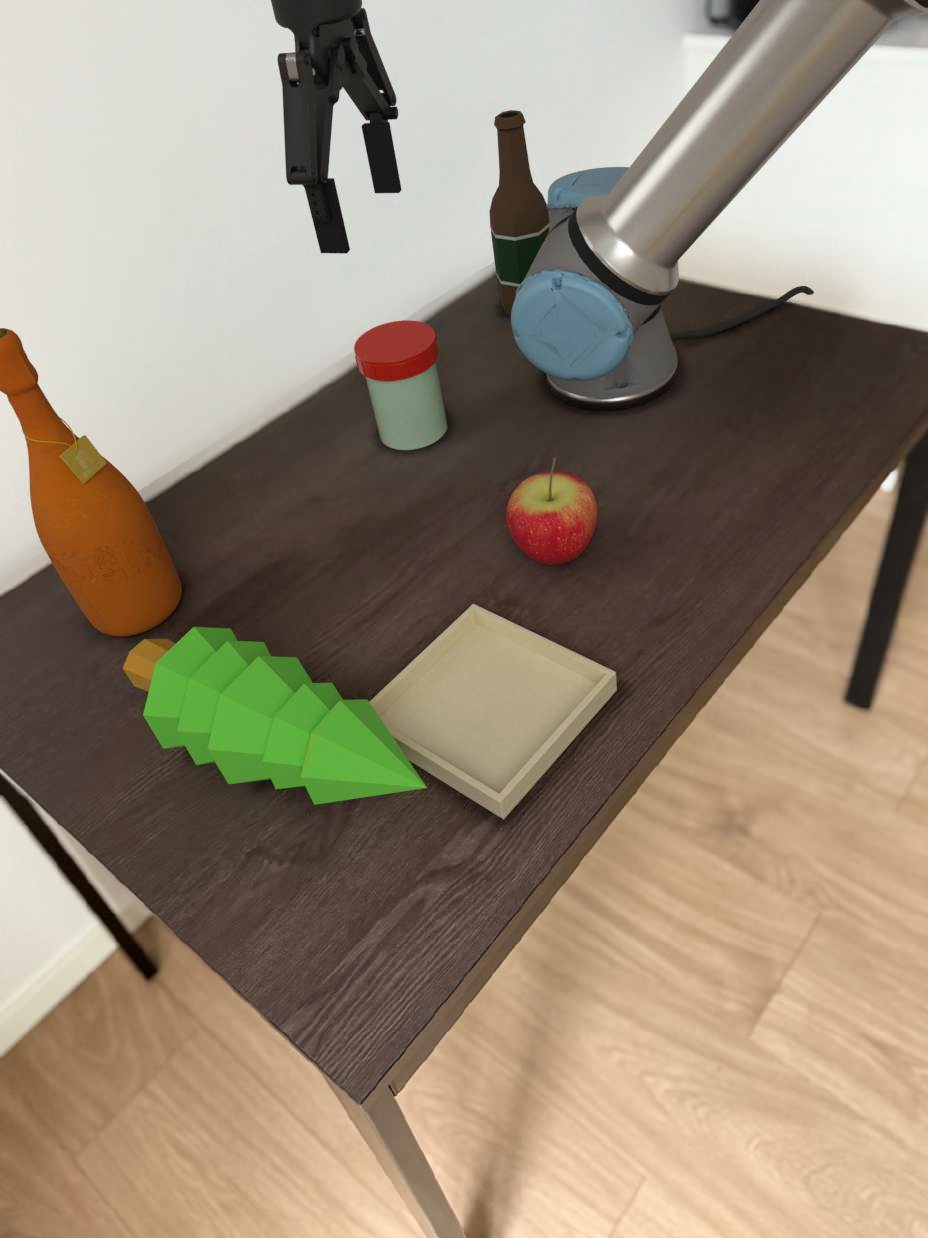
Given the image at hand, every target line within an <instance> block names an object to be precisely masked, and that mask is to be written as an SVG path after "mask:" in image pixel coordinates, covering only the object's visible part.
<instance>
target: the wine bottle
mask: <svg viewBox="0 0 928 1238" xmlns="http://www.w3.org/2000/svg"><path fill="white" fill-rule="evenodd" d="M38 382H39V373H38V371H37V368H36V367H35V366H34V364H32V362H31V361H30V359H29V357H28V354H27V352H26V351H25V349H24V346H23V343H22V339H21V338H20V336H19V334H17V333H16V332H15V331H14V330H12V329H10V328H5V327H1V328H0V392H1V393H3V395H6V397H7V399H8V400H7V401H8V403H9V404H10V406H11V407H12V409H13V411H14V414H15V415H16V417H17V419H18V421H19V423H20V424H19V425H20V427H21V432H22V434H23V435H24V439H25V442H26V448H27V456H28V457H27V458H28V472H29V473H28V474H29V475H28V476H29V496H30V498H29V499H30V506H31V513H32V517H33V523H34V526H35V530H36V533H37V536H38V539H39V541H40V543H41V545H42V547H43V549H44V551H45V553H46V555H47V557H48V558H49V560H50V562H51V564H52V566H53V567H54V568H55V571H56V573H57V574H58V576H59V577H60V579H61V580H62V582H63V583H64V585H65V586H66V588H67V590H68V591H69V593H70V595H71V596H72V597H73V599H74V601H75V602H76V604H77V605H78V608H80V610H81V612H82V613H83V615H84V616H85V617H86V619H87V620H88V621H89V623H90V624H91V625H92V626H93V628H95V630H97V631H99V632H100V633H102V634H104V635H108V636H111V637H131V636H135V635H140V634H143V633H145V632H148V631H150V630H152V629H154V628H156V627H158V626H159V625H161V624H162V623H164V622H165V621H166V620H167V619H169V617H170V616H171V615H172V614H173V613H174V612H175V611H176V609H177V607H178V606H179V604H180V601H181V599H182V595H183V588H182V582H181V579H180V576H179V574H178V571H177V569H176V567H175V564H174V561H173V559H172V557H171V555H170V552H169V550H168V548H167V546H166V544H165V542H164V539H163V537H162V535H161V532H160V531H159V528H158V526H157V524H156V522H155V519H154V518H153V516H152V514H151V511H150V510H149V507H148V506H147V504H146V502H145V501H144V498H143V497H142V496H141V494H140V493H139V491H138V490H137V489H136V488H135V486H134V485H133V484H132V483H131V482H130V480H129V479H128V478H127V477H126V476H125V475H124V474H123V473H122V471H120V470H119V469H118V468H117V467H116V466H115V465H114V464H113V463H111V462H110V461H109V460H108V459H107V458H105V457H104V456H103V455H101V453H100V452H99V451H98V449H97V448H96V447H95V445H94V444H93V443H92V442H91V440H90V439H89V438H88V437H87V435H86V434H84V435H82V436H80V437H79V436H77V435H76V433H74V431H73V429H72V428H71V426H70V425H69V424H68V422H66V421H65V420H64V419H63V418H61V417H60V416H59V415H58V413H57V412H56V411H55V409H54V408H53V406H52V404H51V403H50V401H49V399H48V398H47V397H46V395H45V393H44V392H43V390H42V388H41V387H40V384H39V383H38Z"/></svg>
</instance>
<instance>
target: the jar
mask: <svg viewBox="0 0 928 1238" xmlns="http://www.w3.org/2000/svg"><path fill="white" fill-rule="evenodd" d="M439 375H440V374H439V369H438V365H437V361H436V362H435V363H434V364H433V365H432V366H431V367H430V368H429V369H427V370H426V371H424V372H422V373H421V374H418V375H416V376H413V377H411V378H407V379H403V380H397V381H378V380H373V379H370V378H367V377H366V376H364V378H365V381H366V386H367V390H368V394H369V399H370V402H371V406H372V410H373V414H374V419H375V422H376V423H375V424H376V427H377V432H378V435H379V439H380V441H381V442H382V443H383V445H385V446H386V447H388V448H391V449H393V450H399V451H412V450H419V449H422V448H425V447H428V446H431V445H433V444H434V443H436V442H437V441H439V440H440V439H441V438H443V437H444V435H445V434H446V432H447V430H448V419H447V414H446V409H445V403H444V398H443V391H442V387H441V381H440V376H439Z"/></svg>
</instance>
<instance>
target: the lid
mask: <svg viewBox="0 0 928 1238" xmlns="http://www.w3.org/2000/svg"><path fill="white" fill-rule="evenodd" d="M353 350H354V351H353V352H354V359H355V363H356V365H357V369H358V370H359V372H360V374H361V375H362V376H364V377H365V376H366V377H367V378H370V379H373V380H378V381H397V380H403V379H407V378H411V377H413V376H416V375H418V374H421V373H422V372H424V371H426V370H427V369H429V368H430V367H431V366H432V365H433V364H434V363H435V362H436V363H437V360H438V358H439V356H440V352H439V347H438V339H437V335H436V332H435V329H434V328H433V327H432V326H431V325H429V324H427V323H425V322H423V321H419V320H409V319H407V320H395V321H389V322H385V323H382V324H379V325H377V326H374V327H372V328H370V329H369V330H367V331H365V332H363V333H362V334H361V335H360V336H359V337H358V338H357V339H356V341H355V343H354V345H353Z"/></svg>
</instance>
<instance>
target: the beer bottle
mask: <svg viewBox="0 0 928 1238" xmlns="http://www.w3.org/2000/svg"><path fill="white" fill-rule="evenodd" d="M526 123H527V122H526V119H525V116H524V113H523V112H522V111H521V110H515V109H510V110H504V111H502V112H500V113H499V114H497V115H496V116H495V117H494V121H493V125H494V127H495V129H496V132H497V133H496V134H497V154H498V171H499V172H498V173H499V174H498V175H499V176H498V186H497V188H496V190H495V192H494V194H493V196H492V199H491V203H490V208H489V227H490V235H491V244H492V251H493V259H494V260H493V261H494V267H495V275H496V282H497V291H498V297H499V302H500V306H501V307H502V309H503V311H504V313H505V315H507V316H509V317H511V312H512V307H513V304H514V297H515V296H516V294H515V293H516V291H517V289H518V287H519V285H520V284H521V283H522V282H523V281H524V279H525V277H526V275H527V273H528V271H529V269H530V267H531V265H532V263H533V261H534V259H535V257H536V256H537V254H538V252H539V250H540V248H541V246H542V244H543V243H544V241H545V239H546V237H547V235H548V233H549V226H550V222H549V213H548V209H547V207H546V205H547V202H546V199H545V197H544V195H543V193H542V192H541V191H540V189H539V188H538V186H537V185H536V184H535V183H534V180H533V176H532V173H531V167H530V160H529V154H528V147H527V141H526V135H525V134H526V133H525V127H524V125H525V124H526Z"/></svg>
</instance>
